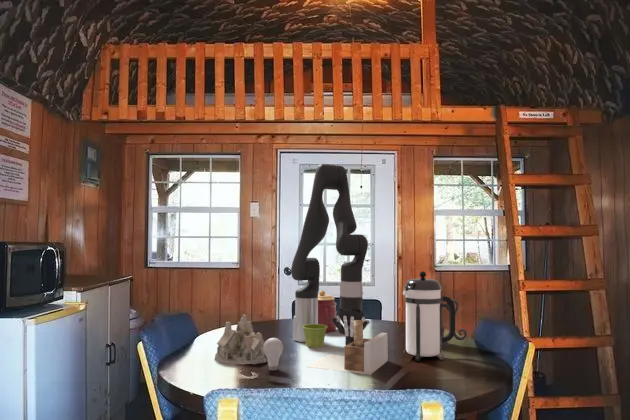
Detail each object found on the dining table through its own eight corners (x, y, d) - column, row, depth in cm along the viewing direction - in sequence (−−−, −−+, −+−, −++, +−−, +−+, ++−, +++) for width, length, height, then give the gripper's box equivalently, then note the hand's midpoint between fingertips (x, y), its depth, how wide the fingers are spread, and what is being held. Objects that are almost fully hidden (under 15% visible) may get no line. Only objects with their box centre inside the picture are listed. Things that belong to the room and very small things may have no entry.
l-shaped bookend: (306, 371, 162) (306, 337, 162) (328, 358, 178) (328, 328, 179) (370, 379, 153) (370, 343, 154) (387, 365, 170) (387, 333, 170)
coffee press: (440, 365, 170) (439, 273, 171) (394, 359, 178) (394, 271, 180) (455, 355, 184) (455, 270, 186) (413, 349, 193) (413, 268, 194)
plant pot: (330, 347, 195) (330, 324, 195) (322, 353, 186) (322, 329, 187) (307, 346, 198) (307, 323, 199) (298, 351, 189) (298, 327, 190)
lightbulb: (263, 371, 161) (263, 336, 162) (282, 371, 162) (283, 335, 162) (262, 377, 155) (263, 340, 156) (283, 376, 156) (283, 339, 156)
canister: (341, 329, 233) (342, 290, 234) (327, 334, 222) (327, 292, 223) (317, 326, 240) (317, 288, 241) (302, 330, 229) (302, 290, 230)
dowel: (353, 360, 160) (352, 321, 161) (355, 358, 162) (355, 319, 163) (361, 361, 159) (361, 321, 159) (364, 359, 161) (363, 320, 162)
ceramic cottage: (210, 357, 180) (213, 313, 180) (255, 354, 187) (258, 312, 187) (223, 370, 166) (226, 323, 166) (271, 366, 173) (274, 322, 173)
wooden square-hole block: (344, 369, 159) (344, 346, 159) (359, 359, 171) (359, 337, 172) (366, 371, 156) (366, 348, 156) (379, 361, 169) (379, 339, 169)
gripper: (328, 294, 170) (327, 347, 169) (366, 297, 165) (365, 352, 164) (336, 292, 177) (335, 343, 176) (373, 295, 171) (372, 347, 171)
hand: (350, 347), depth 170 cm, fingers closed
